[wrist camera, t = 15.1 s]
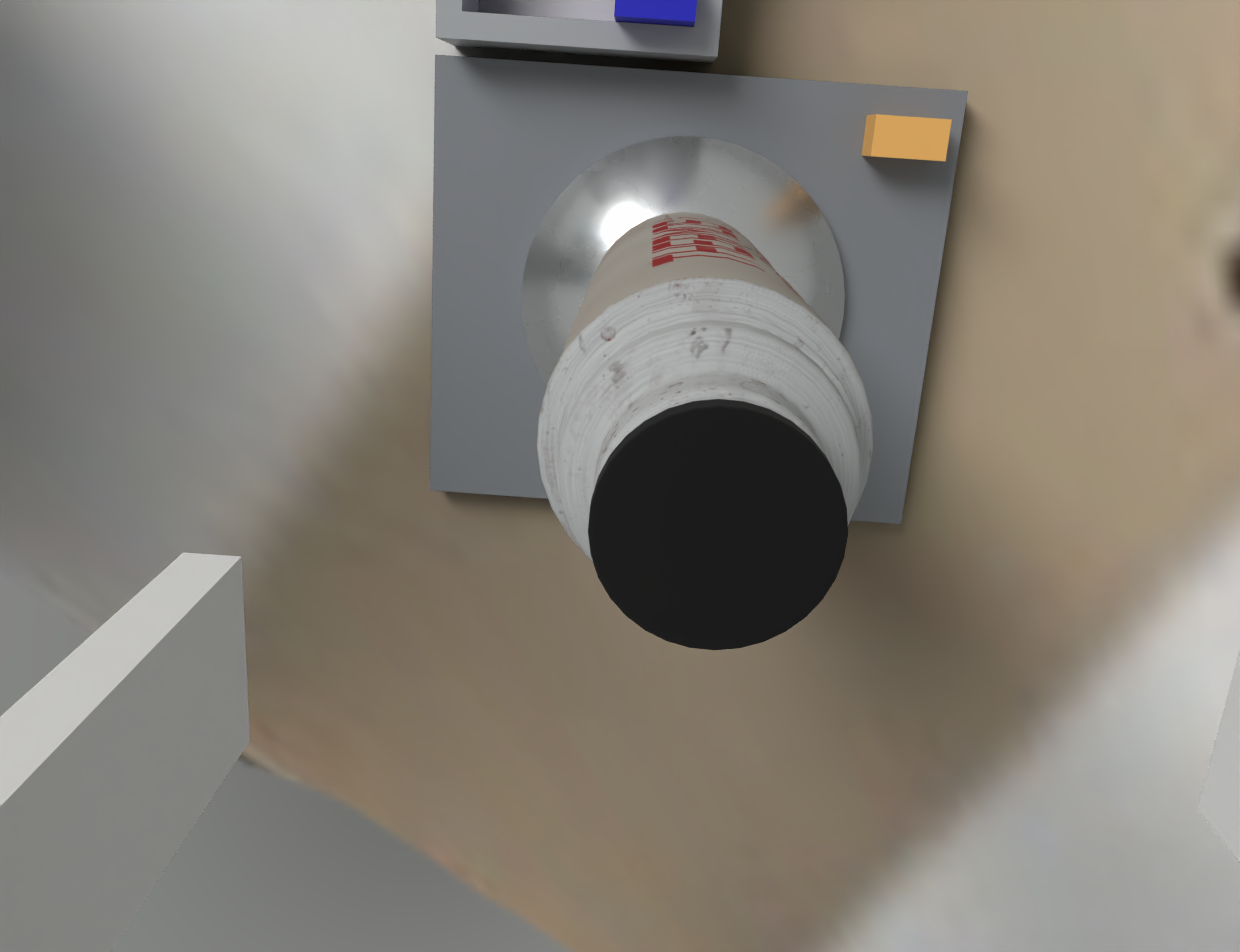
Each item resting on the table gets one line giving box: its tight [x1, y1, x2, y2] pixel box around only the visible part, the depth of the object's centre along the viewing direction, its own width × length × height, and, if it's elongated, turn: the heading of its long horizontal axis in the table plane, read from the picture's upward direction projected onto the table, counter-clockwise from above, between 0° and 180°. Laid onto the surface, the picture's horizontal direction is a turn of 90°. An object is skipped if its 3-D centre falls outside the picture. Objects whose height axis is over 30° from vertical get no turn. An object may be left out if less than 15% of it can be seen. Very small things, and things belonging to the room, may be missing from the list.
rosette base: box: [430, 55, 968, 524], centre depth 47 cm, size 22×19×4 cm
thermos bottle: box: [537, 212, 873, 650], centre depth 33 cm, size 8×8×28 cm
